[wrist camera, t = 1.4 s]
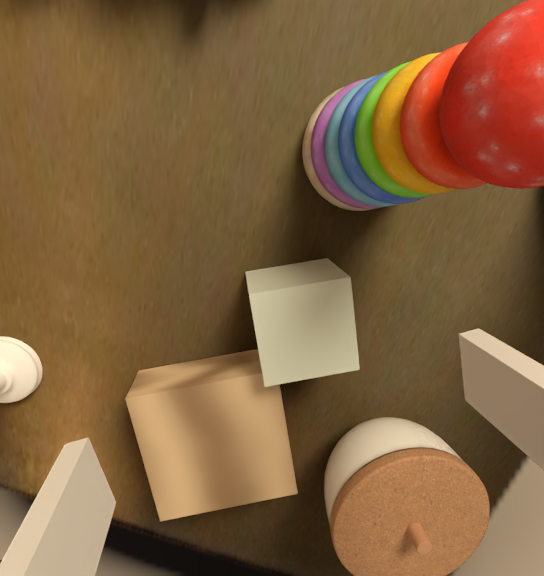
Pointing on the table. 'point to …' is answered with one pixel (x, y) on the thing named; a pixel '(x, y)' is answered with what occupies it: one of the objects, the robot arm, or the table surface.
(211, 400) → the plinth
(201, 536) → the table surface
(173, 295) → the table surface
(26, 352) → the chess piece
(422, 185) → the stacking toy
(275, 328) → the cube
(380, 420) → the lidded jar
